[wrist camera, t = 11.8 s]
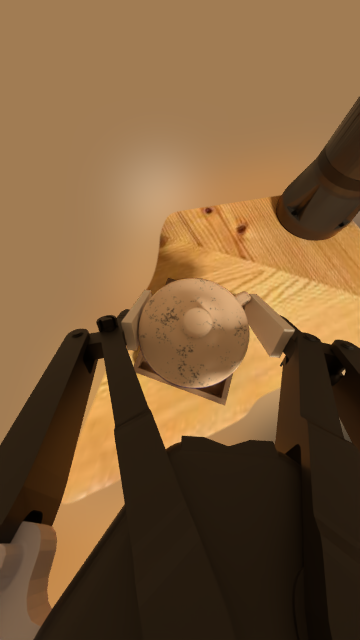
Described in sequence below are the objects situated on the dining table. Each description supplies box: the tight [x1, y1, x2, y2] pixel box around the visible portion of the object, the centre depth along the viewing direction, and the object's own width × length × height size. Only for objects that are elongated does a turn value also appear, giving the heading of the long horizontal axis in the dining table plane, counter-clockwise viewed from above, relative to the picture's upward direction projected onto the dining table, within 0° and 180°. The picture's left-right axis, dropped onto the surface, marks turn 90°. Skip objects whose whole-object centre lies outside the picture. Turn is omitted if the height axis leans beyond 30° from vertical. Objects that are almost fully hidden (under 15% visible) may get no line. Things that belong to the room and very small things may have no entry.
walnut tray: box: [134, 278, 246, 405], centre depth 26 cm, size 16×18×2 cm
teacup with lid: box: [138, 278, 251, 389], centre depth 14 cm, size 12×9×12 cm
